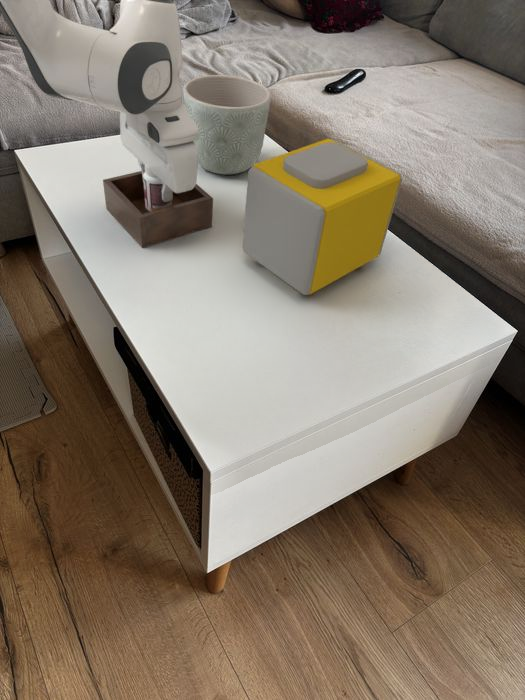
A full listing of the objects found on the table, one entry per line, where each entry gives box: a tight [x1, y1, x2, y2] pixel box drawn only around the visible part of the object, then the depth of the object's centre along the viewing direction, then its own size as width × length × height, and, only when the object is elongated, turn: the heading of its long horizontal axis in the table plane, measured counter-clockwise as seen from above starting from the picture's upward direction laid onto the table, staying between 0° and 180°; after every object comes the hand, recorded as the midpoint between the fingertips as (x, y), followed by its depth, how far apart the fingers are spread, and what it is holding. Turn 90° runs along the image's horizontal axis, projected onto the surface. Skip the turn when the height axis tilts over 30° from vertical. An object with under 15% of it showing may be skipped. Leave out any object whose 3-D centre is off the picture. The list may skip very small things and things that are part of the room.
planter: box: [182, 74, 272, 175], centre depth 111 cm, size 17×17×15 cm
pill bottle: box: [143, 164, 172, 212], centre depth 95 cm, size 5×5×8 cm
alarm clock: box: [242, 137, 403, 296], centre depth 88 cm, size 20×16×18 cm
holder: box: [102, 170, 214, 249], centre depth 97 cm, size 14×14×6 cm
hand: (157, 191), depth 96 cm, fingers closed on pill bottle, 5 cm apart
